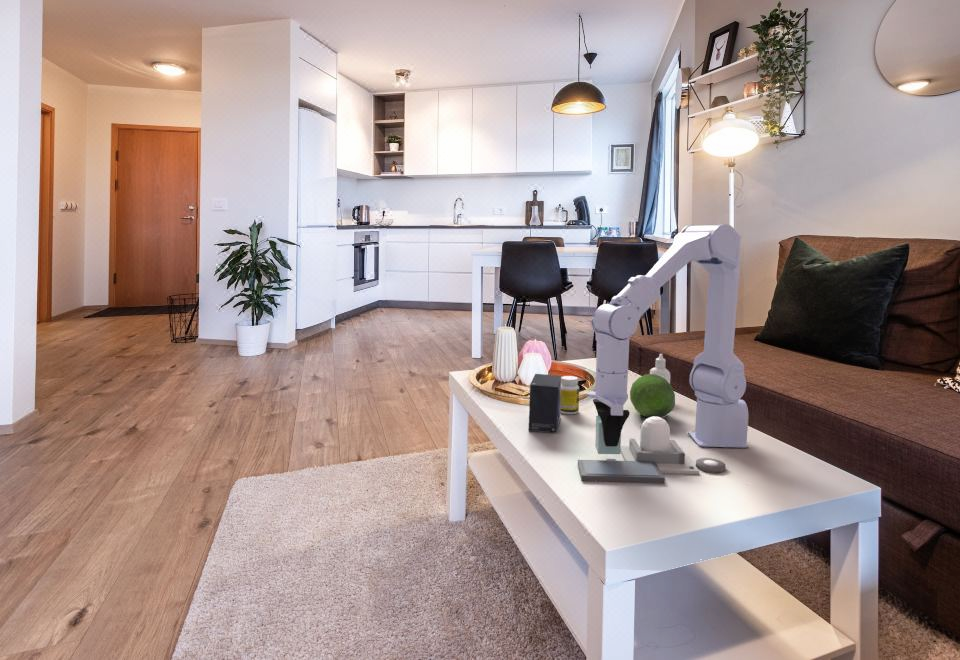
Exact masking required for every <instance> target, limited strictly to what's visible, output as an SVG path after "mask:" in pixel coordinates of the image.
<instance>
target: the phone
mask: <svg viewBox="0 0 960 660" xmlns="http://www.w3.org/2000/svg"><path fill="white" fill-rule="evenodd" d="M577 468H578V471H579V475H580V480H581V481H582V482H603V483H605V482H607V483H609V482H611V483H639V484H640V483H645V484H665V482H666V481H665V480H666V478H665V476H664V473H662V472H661V470H660V469H659V467H658V465H657V464H656V462H646V461H625V460H617V459H616V458H606V460H604V459H603V460H602V459H601V460H600V459H599V460H598V459H577Z"/></svg>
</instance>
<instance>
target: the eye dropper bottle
mask: <svg viewBox="0 0 960 660" xmlns="http://www.w3.org/2000/svg"><path fill="white" fill-rule="evenodd" d="M666 362H667V361H666V358H664V355H663V353H659V356H658V357H656V358H655V367H652V368H651V369H649V374H655V375H658V376H661V377H663V378H664V379H666V380H667V381H668V383H669V384H670V385H671V372H670V370H668V369H667V368H666V365H667V364H666Z"/></svg>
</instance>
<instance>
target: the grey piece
mask: <svg viewBox="0 0 960 660" xmlns="http://www.w3.org/2000/svg"><path fill="white" fill-rule="evenodd" d="M620 455H621V456H622V458H623V461H646V462H656V464H657V465H658V467H659V469H660V470H661V472H662V474H674V475H675V474H678V475H683V474H684V475H700V469H698V468H697V467H696V464H694V462H693V460H692V459H691V458H690V457H689V455H688V454H687V452H685V450H684V449H683V448H682V447H681V446H679V444H678V443H677V442H676V440H675V439H670V445H669V452H660V451H641V449H640V444H638V442H637V440H636V439H635V438H629V445H621V447H620Z"/></svg>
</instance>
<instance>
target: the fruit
mask: <svg viewBox="0 0 960 660" xmlns="http://www.w3.org/2000/svg"><path fill="white" fill-rule="evenodd" d="M674 391H675V390H674V389H673V387H672V385H671V383H670V384H669V383H668V381H667V380H666V379H664V378H663V377H661V376H658V375H655V374H650V373H646V374H643V375H641V376H639V377H638V378H637V379H636V380H635V381H634V382H633V383H632V385H631V387H630V391H629V399H630V402H631V404H632V405H633V408H634V410H635V411H637V412H638V413H639V414H640V415H642V416H643V417H645V418H647V419H648V418H650V417H653V416H656V417H660V418H664V417H666V416H668V415H669V414H670V413H671V412H672V411H674V408H675V406H676V394H675V392H674Z"/></svg>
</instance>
